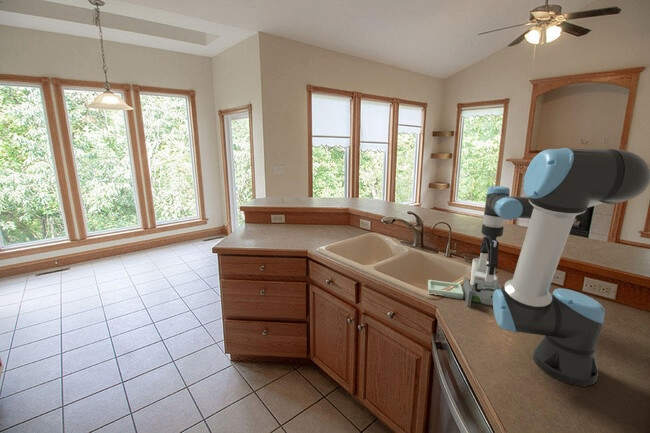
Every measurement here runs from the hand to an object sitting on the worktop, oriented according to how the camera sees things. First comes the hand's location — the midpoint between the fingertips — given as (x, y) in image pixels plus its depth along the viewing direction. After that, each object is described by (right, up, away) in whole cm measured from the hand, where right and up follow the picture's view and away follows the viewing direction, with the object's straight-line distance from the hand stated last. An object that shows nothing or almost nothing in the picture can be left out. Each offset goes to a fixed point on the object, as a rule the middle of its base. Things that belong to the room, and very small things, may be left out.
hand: (485, 274), depth 126 cm
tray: (-13, -10, +10) cm, 19 cm away
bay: (0, -12, +2) cm, 12 cm away
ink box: (0, -12, +3) cm, 12 cm away
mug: (+7, -8, +18) cm, 21 cm away
